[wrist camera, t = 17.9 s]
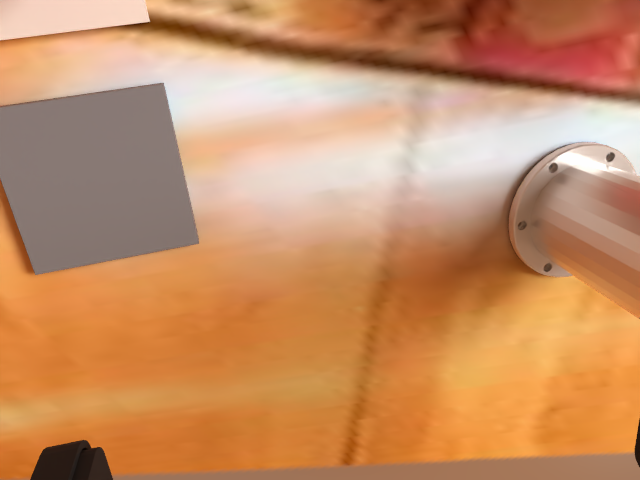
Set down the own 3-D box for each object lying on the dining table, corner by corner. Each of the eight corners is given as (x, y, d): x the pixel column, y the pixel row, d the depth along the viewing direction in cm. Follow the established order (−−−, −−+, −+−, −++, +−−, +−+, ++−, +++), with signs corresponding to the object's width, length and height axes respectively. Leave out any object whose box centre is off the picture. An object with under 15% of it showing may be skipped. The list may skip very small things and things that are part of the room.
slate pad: (163, 82, 38) (162, 84, 37) (198, 238, 42) (198, 243, 42) (-20, 109, 36) (-25, 111, 35) (39, 269, 41) (35, 274, 40)
